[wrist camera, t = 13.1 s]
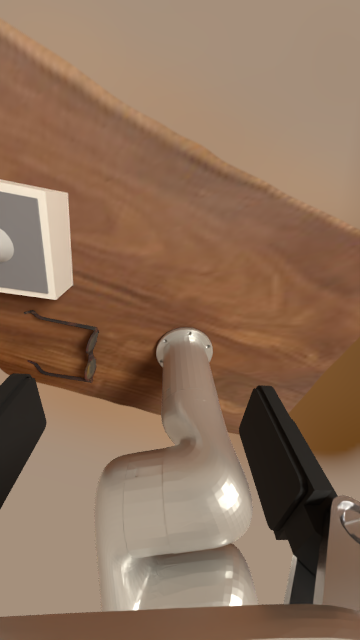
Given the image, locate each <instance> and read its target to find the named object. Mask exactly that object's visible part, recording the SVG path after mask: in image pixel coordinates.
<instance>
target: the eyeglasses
mask: <svg viewBox="0 0 360 640" xmlns="http://www.w3.org/2000/svg"><path fill="white" fill-rule="evenodd" d="M27 313H32V314H33V315H34V316H36V317H37V318H39V319H42V320H46V321H51V322H56V323H61V324H65V325H70V326H75V327H80V328H86V329H91V330H94V332H93V334H92V335H91V337H90V339H89V341H88V344H87V347H86V353H88V354H89V360H88V363H87V366H86V369H85V378H81V377H74V376H67V375H60V374H53V373H48V372H45V371H43V370H42V369H41V368H40V366H39V365H38V364H37V363H35V362H32V361H29V360H28V362H30V363H32V364H34V365H35V366H36V368H37V369H38V370H39V371H40V372H41V373H42V374H45V375H49V376H55V377H61V378H66V379H72V380H78V381H85V382H90V383H92V382H93V375H94V373H95V370H96V358H95V357H94V355H93V349H94V347H95V345H96V342H97V336H98V333H99V330H97V327H93V326H88V325H82V324H77V323H71V322H66V321H60V320H55V319H50V318H45V317H42V316H39V315H38V314H37V313H36V312H35V311H33V310H31V311H27V312H24V314H27Z"/></svg>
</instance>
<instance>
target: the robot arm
mask: <svg viewBox="0 0 360 640" xmlns="http://www.w3.org/2000/svg"><path fill="white" fill-rule="evenodd" d="M189 331H190V332H189ZM165 339H166V340H165ZM212 354H213V348H212V344H211V342H210V340H209V338H208V337H207V336H206V335H205V334H204V333H203V332H201V331H199V330H197V329H194V328H177V329H174V330H172V331H170V332H168V333H166V334H165V335H164V336H163V337H162V338H161V339H160V341H159V343H158V345H157V349H156V357H157V360H158V362H159V364H160V365H161V366H162V367H163V381H162V412H161V417H162V424H163V427H164V429H165V432H166V433H167V435H168V436H169V438H170V439H171V440H172V442H173V443H174V444H175V445H176V446H171V447H167V448H163V449H156V450H150V451H143V452H137V453H132V454H127V455H123V456H120V457H117V458H115V459H114V460H112V461H111V462H110V463H109V464H108V465H107V466H106V467H105V468H104V470H103V472H102V474H101V476H100V479H99V482H98V486H97V490H96V497H95V512H94V514H95V515H94V517H95V537H96V551H97V563H98V574H99V586H100V597H101V610H102V612H86V613H66V614H47V615H28V616H10V617H0V640H360V502H359V501H357V500H355V499H353V498H351V497H348V496H344V495H342V496H337V494H336V492H335V491H334V489H333V487H332V485H331V484H330V482H329V480H328V479H327V477H326V475H325V473H324V472H323V470H322V468H321V467H320V465H319V463H318V461H317V460H316V458H315V456H314V455H313V453H312V451H311V449H310V448H309V446H308V444H307V443H306V441H305V439H304V437H303V436H302V434H301V432H300V430H299V429H298V427H297V425H296V424H295V422H294V421H293V420H292V419H291V418H290V416H289V414H288V413H287V411H286V409H285V407H284V406H283V404H282V402H281V400H280V399H279V397H278V395H277V393H276V392H275V390H274V388H273V387H272V386H257V388H256V389H253V391H252V394H251V397H250V399H249V402H248V405H247V408H246V410H245V413H244V416H243V419H242V421H241V424H240V427H239V433H240V437H241V440H242V443H243V447H244V450H245V453H246V457H247V460H248V463H249V466H250V469H251V473H252V476H253V479H254V482H255V486H256V489H257V491H258V495H259V498H260V502H261V505H262V508H263V511H264V515H265V518H266V521H267V524H268V526H269V528H270V529H271V530H273V531H274V534H275V537H276V540H288V541H289V544H290V546H291V549H292V552H293V558H292V564H291V569H290V574H289V579H288V584H287V589H286V594H285V600H284V604H279V605H278V604H276V605H258V600H257V595H256V591H255V587H254V583H253V579H252V576H251V573H250V570H249V567H248V565H247V562H246V560H245V558H244V556H243V555H242V553H241V552H240V550H239V549H238V548H237V547H236V546H235V545H234V544H232V542H234V541H236V540H237V539H239V538H240V537H241V536H242V535H243V534H244V533H245V532H246V530H247V529H248V527H249V525H250V522H251V519H252V508H253V507H252V498H251V493H250V489H249V485H248V482H247V479H246V477H245V474H244V472H243V469H242V467H241V464H240V462H239V460H238V457H237V455H236V453H235V450H234V448H233V446H232V443H231V440H230V438H229V435H228V432H227V429H226V426H225V423H224V419H223V415H222V412H221V408H220V404H219V400H218V396H217V392H216V388H215V384H214V380H213V376H212V372H211V369H210V365H209V362H210V360H211V358H212ZM45 427H46V418H45V414H44V411H43V407H42V404H41V399H40V396H39V392H38V388H37V385H36V381H35V379H34V378H32V377H31V375H30V374H11V375H10V376H9V377H8V378H7V379H6V380H5V381H4V382H3V383H2V385H0V509H1V507H2V505H3V503H4V501H5V500H6V498H7V496H8V494H9V492H10V491H11V489H12V487H13V485H14V484H15V482H16V480H17V478H18V476H19V474H20V473H21V471H22V469H23V467H24V465H25V464H26V462H27V460H28V458H29V457H30V455H31V453H32V451H33V449H34V448H35V446H36V444H37V442H38V440H39V439H40V437H41V435H42V433H43V431H44V429H45Z"/></svg>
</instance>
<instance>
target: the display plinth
mask: <svg viewBox="0 0 360 640" xmlns="http://www.w3.org/2000/svg"><path fill="white" fill-rule="evenodd" d="M0 229H1V230H3V231H4V232H5V233H6V234H7V235H8V236H9V238H10V239H11V241H12V243H13V247H14V253H13V256H12V257H11V259H10V260H8V261H6V262H0V292H3V293H10V294H17V295H24V296H31V297H39V298H46V299H53V300H56V299H58V298H59V297H60V296H61V295H62V294H63V293H64V292H65V291H67V290H68V289H69V288H70V287H71V286H72V285H73V275H72V257H71V240H70V222H69V205H68V193H65V192H60V191H55V190H50V189H45V188H40V187H35V186H30V185H25V184H20V183H15V182H10V181H5V180H0Z"/></svg>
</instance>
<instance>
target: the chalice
mask: <svg viewBox="0 0 360 640" xmlns="http://www.w3.org/2000/svg"><path fill="white" fill-rule="evenodd" d="M13 253H14V247H13V243H12V241H11V239H10V238H9V236H8V235H7V234H6V233H5V232H4V231H3V230H1V229H0V262H6V261H8V260H10V259H11V257H12V256H13Z"/></svg>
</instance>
